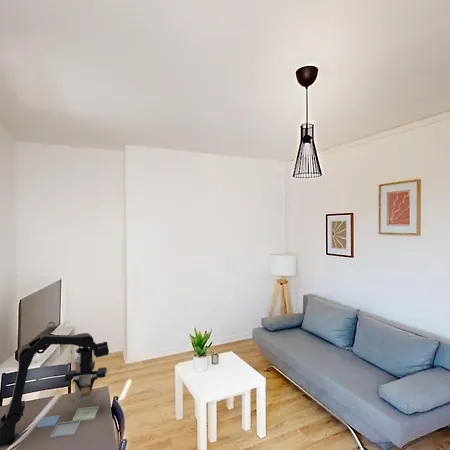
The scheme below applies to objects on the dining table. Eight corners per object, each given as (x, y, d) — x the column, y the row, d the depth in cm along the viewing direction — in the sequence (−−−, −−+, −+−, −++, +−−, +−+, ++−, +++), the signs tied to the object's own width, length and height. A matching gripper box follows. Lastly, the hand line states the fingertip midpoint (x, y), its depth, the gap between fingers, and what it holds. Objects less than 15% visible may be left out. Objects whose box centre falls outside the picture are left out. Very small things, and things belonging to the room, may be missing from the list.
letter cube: (89, 396, 149) (89, 387, 149) (80, 397, 148) (80, 388, 149) (91, 392, 153) (91, 383, 153) (83, 392, 152) (83, 384, 153)
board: (54, 427, 141) (54, 424, 141) (35, 429, 140) (35, 427, 140) (60, 417, 149) (60, 415, 149) (42, 419, 147) (42, 417, 147)
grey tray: (74, 436, 134) (74, 433, 134) (49, 439, 132) (49, 436, 133) (80, 422, 144) (80, 420, 144) (57, 425, 142) (57, 422, 142)
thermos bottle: (80, 396, 168) (80, 345, 170) (94, 396, 168) (94, 345, 169) (71, 404, 160) (72, 350, 162) (86, 404, 160) (86, 351, 161)
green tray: (94, 419, 146) (94, 417, 146) (72, 422, 144) (72, 420, 144) (98, 408, 156) (98, 406, 156) (78, 410, 154) (78, 408, 154)
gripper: (108, 352, 161) (108, 381, 161) (71, 355, 158) (71, 385, 157) (104, 360, 150) (104, 392, 150) (64, 364, 147) (64, 396, 146)
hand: (86, 391), depth 151 cm, fingers closed on letter cube, 4 cm apart
